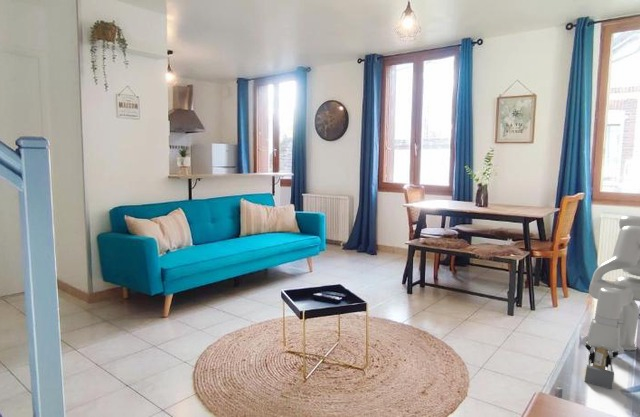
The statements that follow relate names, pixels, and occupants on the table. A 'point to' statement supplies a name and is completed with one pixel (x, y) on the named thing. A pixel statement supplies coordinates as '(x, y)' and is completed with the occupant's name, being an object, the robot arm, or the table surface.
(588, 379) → the guide channel
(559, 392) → the table surface
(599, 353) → the sprinkles bottle
